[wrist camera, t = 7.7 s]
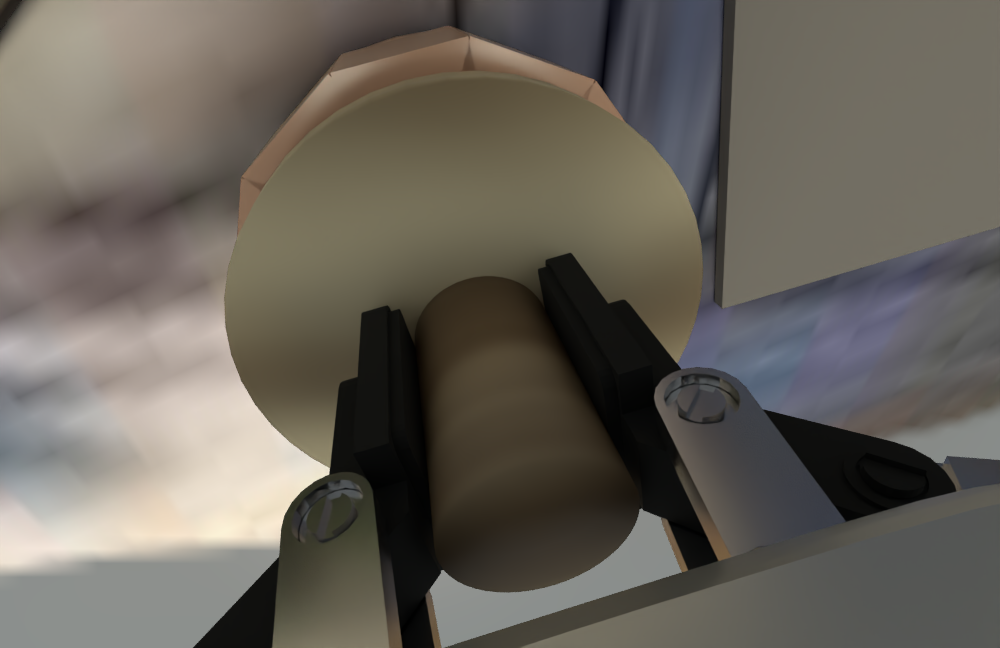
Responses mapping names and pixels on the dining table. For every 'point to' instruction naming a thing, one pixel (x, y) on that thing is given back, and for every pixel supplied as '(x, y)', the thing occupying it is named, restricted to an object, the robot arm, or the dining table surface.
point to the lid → (468, 300)
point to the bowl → (396, 64)
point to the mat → (852, 136)
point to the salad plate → (7, 10)
